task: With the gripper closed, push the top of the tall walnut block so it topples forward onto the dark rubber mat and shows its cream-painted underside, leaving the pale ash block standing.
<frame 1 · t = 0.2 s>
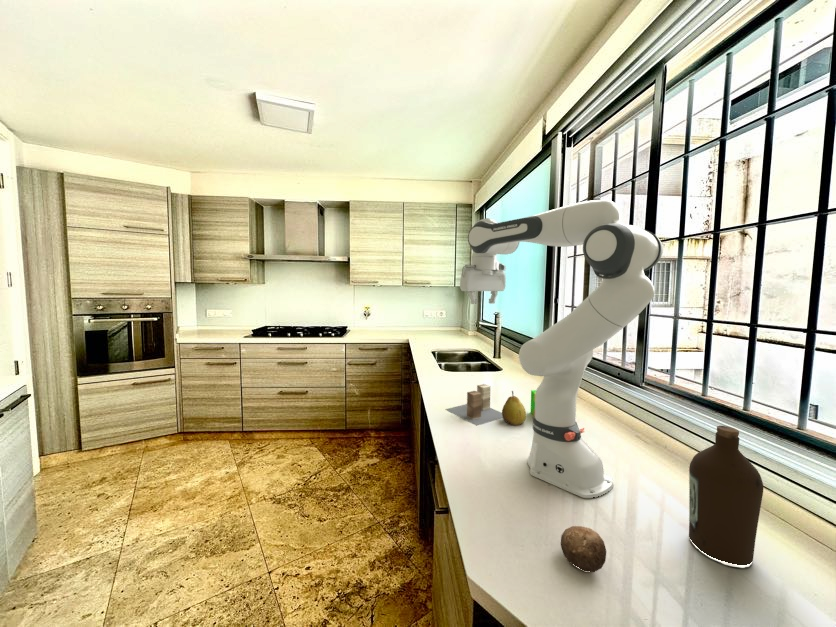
hand: (482, 303, 119), 47 cm above the countertop, fingers open, 8 cm apart
olive oil: (718, 550, 65), on the countertop
walnut block: (473, 416, 132), resting on mat
brown potato: (582, 562, 63), on the countertop
ash block: (483, 408, 142), resting on mat
puzzle toy: (546, 418, 132), on the countertop
mat: (476, 413, 137), on the countertop
fruit: (513, 423, 128), on the countertop
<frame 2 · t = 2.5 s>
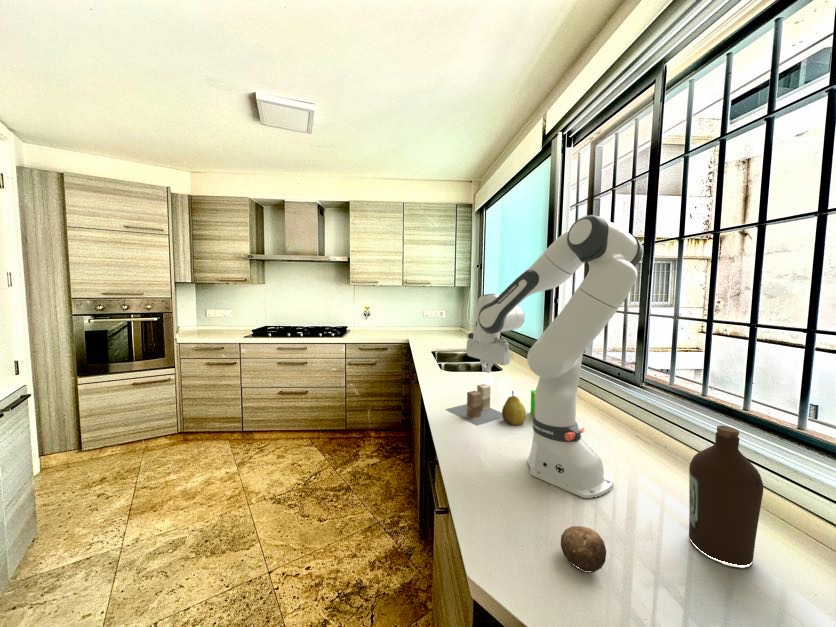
hand: (486, 371, 125), 20 cm above the countertop, fingers closed
nothing on the countertop moved.
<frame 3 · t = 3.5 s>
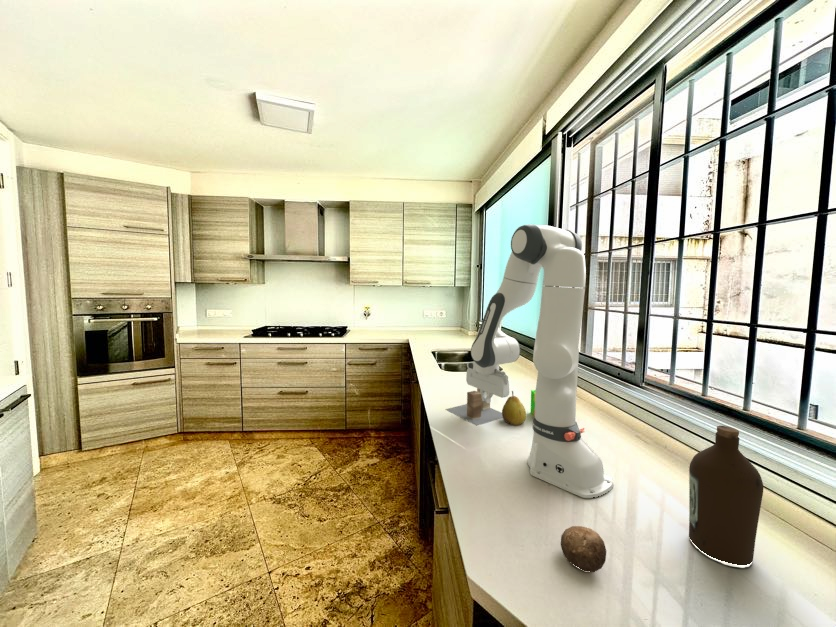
hand: (486, 401, 126), 9 cm above the countertop, fingers closed
nothing on the countertop moved.
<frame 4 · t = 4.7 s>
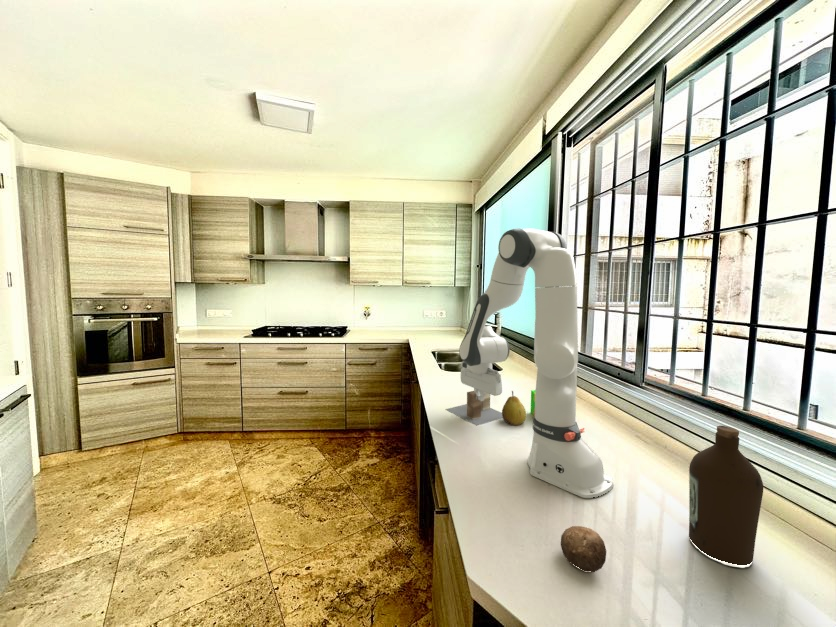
hand: (479, 400, 129), 8 cm above the countertop, fingers closed
walnut block: (473, 416, 132), resting on mat, touching gripper
everything else where it was.
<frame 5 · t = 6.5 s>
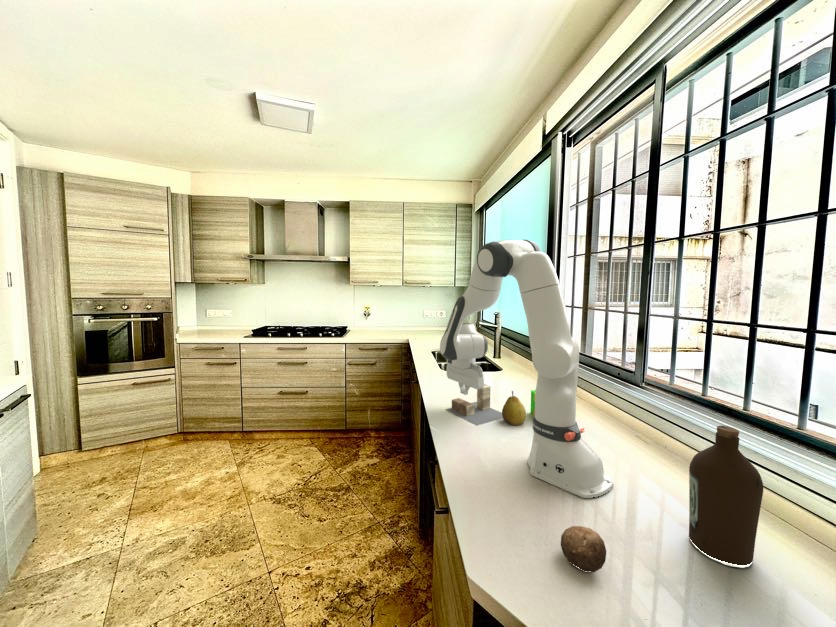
hand: (464, 393, 137), 8 cm above the countertop, fingers closed
walnut block: (470, 410, 134), point 2 cm above the countertop, tilted 90°, touching mat
everything else where it was.
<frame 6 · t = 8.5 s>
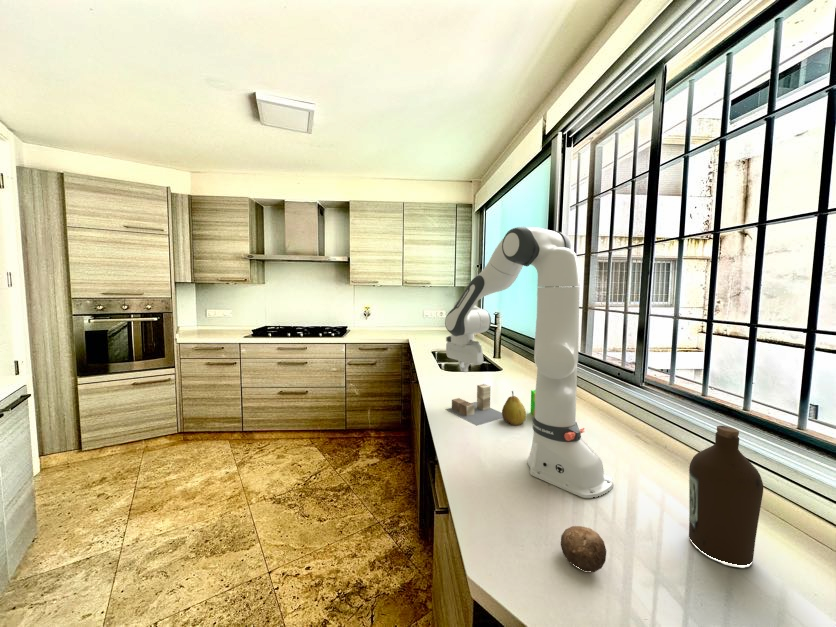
hand: (464, 371, 137), 18 cm above the countertop, fingers closed
nothing on the countertop moved.
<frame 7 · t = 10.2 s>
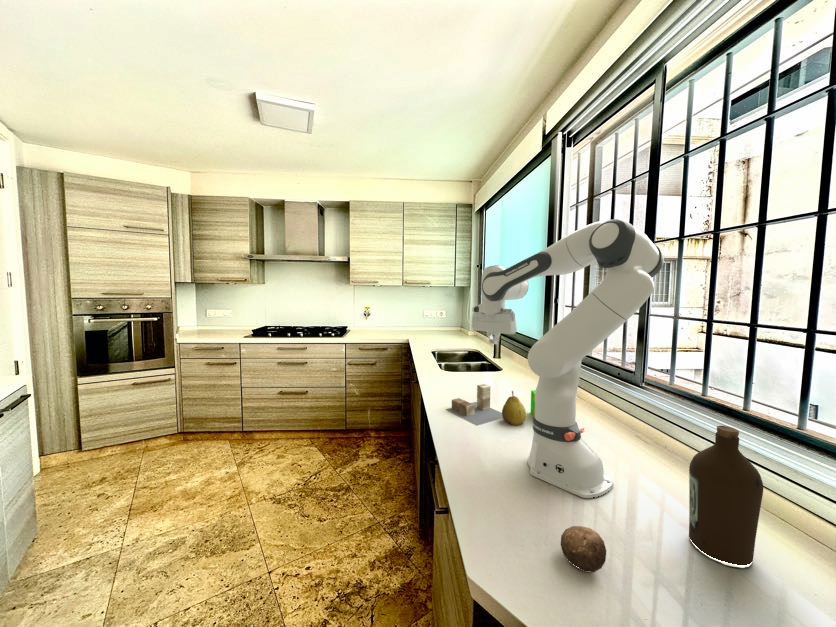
hand: (493, 343, 127), 31 cm above the countertop, fingers closed
nothing on the countertop moved.
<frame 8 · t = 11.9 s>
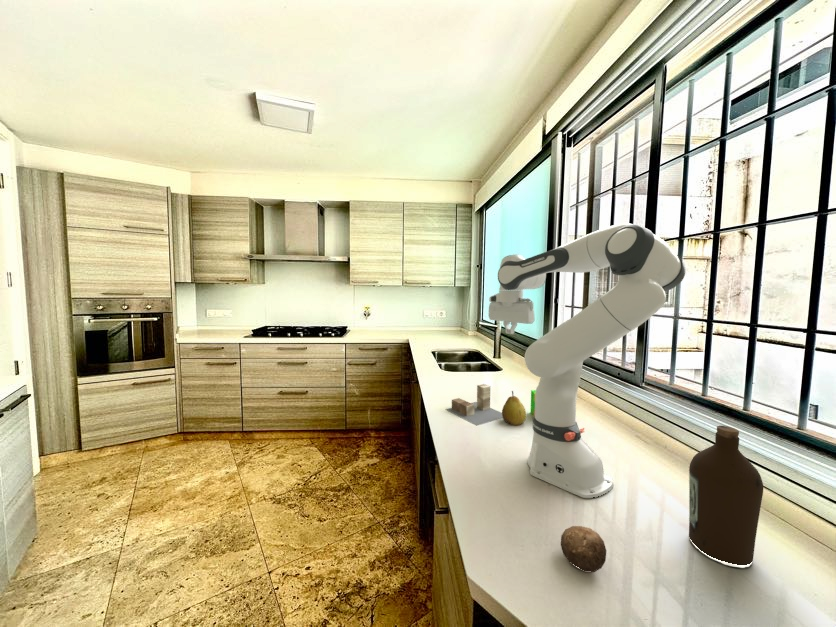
hand: (509, 333, 126), 35 cm above the countertop, fingers closed
nothing on the countertop moved.
at the end: walnut block tilted 90°; walnut block inside the target area (5.0 cm from its centre), point 2.4 cm above the countertop; ash block tilted 0° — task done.
